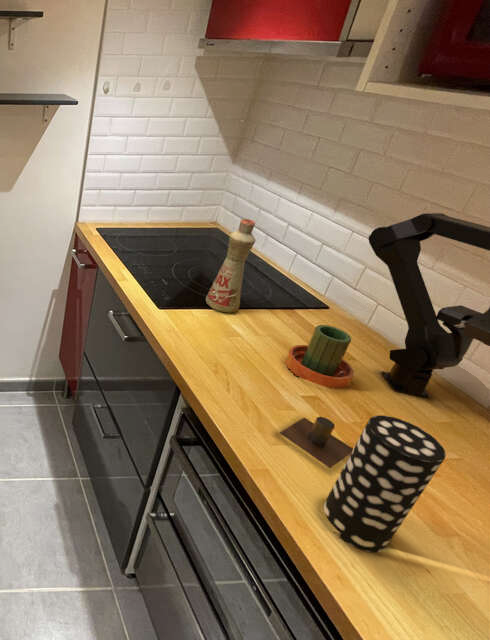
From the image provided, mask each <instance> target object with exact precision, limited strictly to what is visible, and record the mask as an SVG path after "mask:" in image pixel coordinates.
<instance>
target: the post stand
mask: <svg viewBox="0 0 490 640" xmlns="http://www.w3.org/2000/svg"><path fill="white" fill-rule="evenodd" d="M335 427H336V426H335V423H334V422H333V421H332V420H330V419H329V418H326V417H323V416H318V417H316V418H315V421H314V422H312V421H311V420H309V419H307V418H306V417H302V418H301V419H299V420H298V421H296V422H295V423H293V424H291V425H290V426H288V427H286V428H285V429H283V430H281V431H280V432H279V434H280V435H281V436H283V437H284V438H286V439H287V440H288V441H290V442H291V443H293V444H295V445H296V446H297V447H299V448H300V449H301V450H303V451H304V452H306V453H307V454H309V455H310V456H312V457H313V458H314V459H316V460H317V461H319V462H320V463H321V464H323V465H324V466H326V467H327V468H328V469H331V468H333V467H335V465H337V464H338V463H340V462H342V460H343V459H345V458H347V456H348V457H349V456H350V454H351V453H352V451H353V449H354V447H353V448H352V447H351V446H349V445H348V444H346V443H345V442H343V441H342V440H340V439H338V438H337V437H336V436H335V435H333V434H332V433H333V431H334V429H335Z"/></svg>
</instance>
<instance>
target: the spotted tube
mask: <svg viewBox="0 0 490 640" xmlns="http://www.w3.org/2000/svg"><path fill="white" fill-rule="evenodd" d="M446 457H447V453H446V450H445V448H444V447H443V445H442V444H441V443H440V442H439V441H438V440H437V439H436V438H435V437H434V436H432V435H431V434H430V433H428V432H427V431H425V430H424V429H422V428H420V427H419V426H417V425H415V424H413V423H411V422H409V421H406V420H404V419H401V418H397V417H394V416H389V415H374V416H372V417H370V418H369V420H368V422H367V423H366V424H365V427H363V430H362V432H361V434H360V436H359V438H358V439H357V440H356V443H355V445H354V447H353V451H352V453H350V454H349V455H348V458H347V460H346V462H345V463H344V466H343V468H342V469H341V471H340V473H339V475H338V477H337V479H336V480H335V482H334V484H333V486H332V488H331V490H330V492H329V494H328V495H327V497H326V499H325V501H324V503H323V513H324V515H325V517H326V519H327V520H328V521H329V523H330V525H331V526H333V528H334V529H335V530H336V531H333V533H334V534H335V535H336V536H337V537H339V538H340V540H342V541H344V542H345V543H346V544H348V545H350V546H352V547H354V548H356V549H358V550H361V551H364V552H369V553H382V552H383V551H385V549H386V548H387V546H388V545H389V543H390V541H391V540H392V539H393V538H394V536H395V534H396V533H397V531H398V530H399V528H400V527H401V525H402V524H403V522H404V521H405V519H406V518H407V516H408V515H409V513H410V512H411V510H412V509H413V507H414V506H415V504H416V503H417V501H418V499H419V498H420V497H421V495H422V494H423V493H424V490H425V489H426V487H427V486H428V484H429V483H430V482H431V480H432V479H433V477H434V475H435V474H436V472H437V471H438V470H439V468H440V467H441V465H442V464H443V462H444V460H445V459H446ZM337 531H338V532H337Z"/></svg>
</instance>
